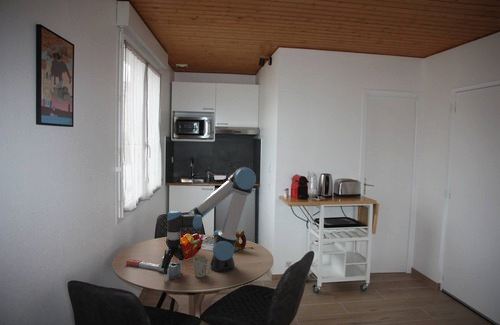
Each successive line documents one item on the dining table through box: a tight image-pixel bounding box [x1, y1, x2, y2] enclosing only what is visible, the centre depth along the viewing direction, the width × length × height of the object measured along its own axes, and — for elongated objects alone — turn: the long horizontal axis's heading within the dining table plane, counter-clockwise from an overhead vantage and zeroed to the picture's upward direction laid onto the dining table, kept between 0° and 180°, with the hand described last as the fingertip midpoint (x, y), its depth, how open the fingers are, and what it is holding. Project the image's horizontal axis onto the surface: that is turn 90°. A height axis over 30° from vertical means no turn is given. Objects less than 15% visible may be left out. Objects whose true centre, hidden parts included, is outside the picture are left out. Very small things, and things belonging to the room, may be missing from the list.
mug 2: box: [234, 230, 247, 253], centre depth 231 cm, size 11×16×15 cm, turn 72°
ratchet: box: [125, 256, 164, 274], centre depth 194 cm, size 30×7×8 cm, turn 71°
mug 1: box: [192, 255, 211, 278], centre depth 183 cm, size 8×13×10 cm, turn 51°
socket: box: [168, 261, 181, 280], centre depth 181 cm, size 6×6×7 cm
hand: (173, 275), depth 181 cm, fingers open, 13 cm apart
